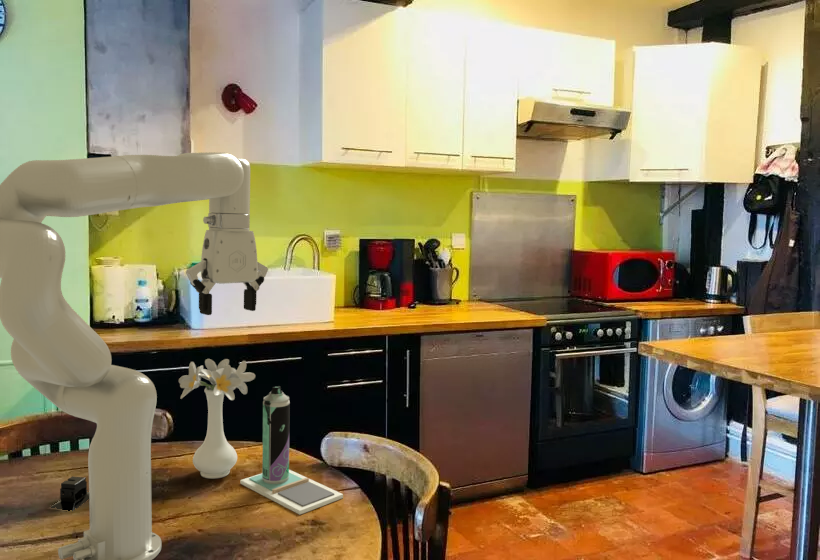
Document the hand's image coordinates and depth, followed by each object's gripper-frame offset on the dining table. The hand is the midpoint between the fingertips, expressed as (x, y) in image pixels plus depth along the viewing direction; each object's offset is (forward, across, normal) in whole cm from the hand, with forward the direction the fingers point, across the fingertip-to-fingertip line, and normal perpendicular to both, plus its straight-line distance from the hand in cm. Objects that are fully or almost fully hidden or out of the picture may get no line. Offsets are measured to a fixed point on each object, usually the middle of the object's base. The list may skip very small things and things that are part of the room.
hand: (228, 312), depth 133 cm
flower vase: (+38, +6, +14) cm, 41 cm away
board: (+38, +12, -5) cm, 40 cm away
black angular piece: (+39, -21, +20) cm, 49 cm away
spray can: (+37, +12, 0) cm, 39 cm away
